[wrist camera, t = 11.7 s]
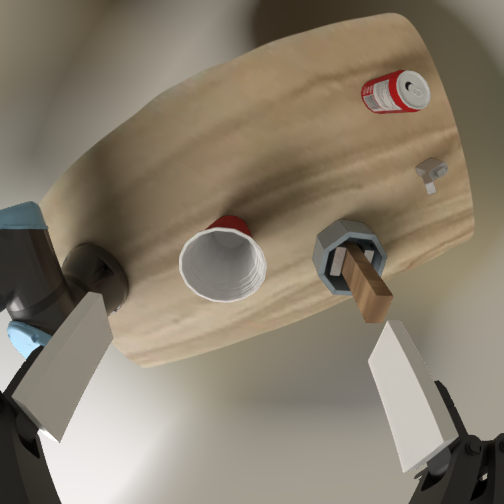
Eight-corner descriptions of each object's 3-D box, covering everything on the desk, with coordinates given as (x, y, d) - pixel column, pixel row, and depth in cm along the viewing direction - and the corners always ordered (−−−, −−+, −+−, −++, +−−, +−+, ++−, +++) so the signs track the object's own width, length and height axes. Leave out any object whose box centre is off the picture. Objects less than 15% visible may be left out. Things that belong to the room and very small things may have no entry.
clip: (324, 263, 45) (329, 275, 41) (330, 236, 43) (336, 246, 39) (358, 266, 45) (366, 278, 41) (365, 240, 43) (374, 251, 39)
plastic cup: (219, 273, 47) (207, 317, 36) (185, 219, 43) (161, 251, 32) (276, 247, 44) (281, 287, 33) (245, 188, 40) (240, 211, 29)
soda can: (396, 95, 33) (439, 89, 22) (382, 120, 35) (423, 121, 24) (369, 74, 32) (406, 58, 21) (354, 99, 34) (388, 91, 23)
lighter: (431, 157, 36) (459, 165, 29) (434, 166, 37) (462, 175, 30) (401, 175, 38) (427, 185, 31) (405, 184, 39) (430, 196, 32)
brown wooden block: (336, 262, 44) (365, 322, 30) (341, 240, 43) (376, 295, 28) (349, 263, 45) (382, 322, 30) (354, 241, 43) (393, 296, 28)
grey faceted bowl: (308, 275, 46) (314, 293, 41) (320, 216, 42) (328, 229, 37) (363, 279, 47) (374, 296, 42) (379, 225, 42) (392, 237, 37)
